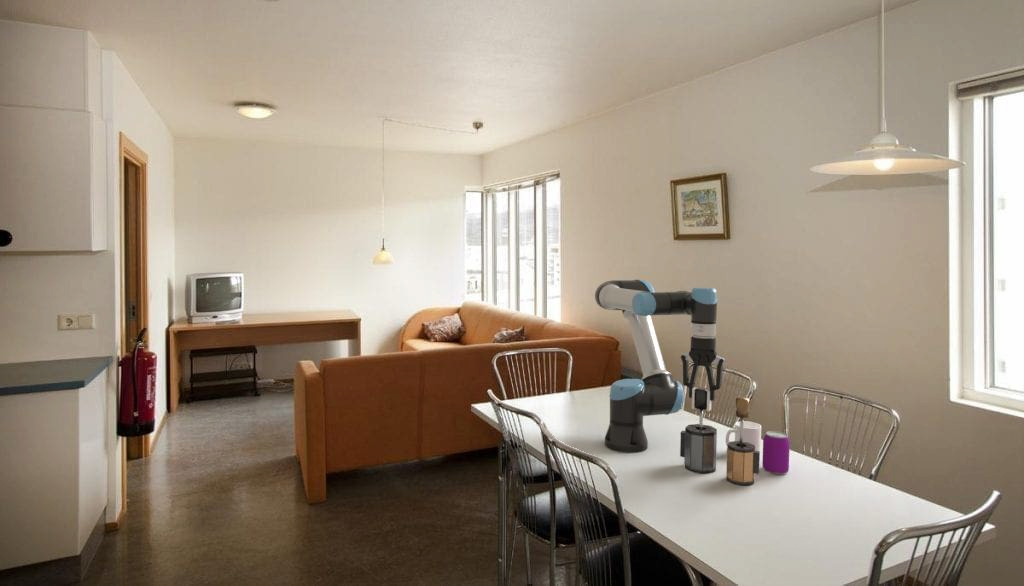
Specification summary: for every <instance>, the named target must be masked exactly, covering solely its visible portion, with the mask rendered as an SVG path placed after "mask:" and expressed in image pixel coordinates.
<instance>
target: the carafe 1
mask: <svg viewBox="0 0 1024 586" xmlns="http://www.w3.org/2000/svg"><path fill="white" fill-rule="evenodd" d="M717 430H718V428H715V427H714V426H712V425H709V424H708V425H707V424H703V430H699V423H694V424H688V425H686V426H685V429H684V430H682V431H680V449H679V454H680V455H679V456H680V457H682V458H684V463H683V466H684V468H685V470H687V471H688V472H692V473H695V474H702V475H703V474H705V475H708V474H714V473H715V472H716V470H717V443H718V441H717V438H718V437H717V436H718V431H717Z"/></svg>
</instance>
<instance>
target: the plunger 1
mask: <svg viewBox="0 0 1024 586" xmlns="http://www.w3.org/2000/svg"><path fill="white" fill-rule="evenodd" d="M708 390H709V389H708V388H707V387H706V388H705V387H697V388H696V389H695V409H697V410H699V423H698V424H699V430H703V425H704V423H703V420H704V410H705V411H706V410H707V391H708Z"/></svg>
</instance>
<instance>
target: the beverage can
mask: <svg viewBox="0 0 1024 586" xmlns="http://www.w3.org/2000/svg"><path fill="white" fill-rule="evenodd" d="M790 444H791V443H790V440H789V437H788V434H787V433H785V432H784V431H783V432H782V431H777V430H768V431H766V432H765V435H764V436H763V441H762V461H761V463H762V469H763V470H764V471H765V472H766V473H769V474H772V475H776V476H778V475H779V476H780V475H785V474H787V473H788V472H789V469H790Z"/></svg>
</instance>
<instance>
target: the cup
mask: <svg viewBox="0 0 1024 586" xmlns="http://www.w3.org/2000/svg"><path fill="white" fill-rule="evenodd" d="M732 433H734V441H740V421H736V422H735V424H734V428H730V429H728V430H727V432H726V435H725V445H726V446H727V444H728V443H729V442H730V436H731V434H732ZM743 442H748V443H750V444H752V445H754V446H755V451H759V452H760V453H761V447H762V445H761V444H762V425H761V424H760V423H757V422H753V421H748V420H747V421H746V420H745V421H744V422H743Z"/></svg>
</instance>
